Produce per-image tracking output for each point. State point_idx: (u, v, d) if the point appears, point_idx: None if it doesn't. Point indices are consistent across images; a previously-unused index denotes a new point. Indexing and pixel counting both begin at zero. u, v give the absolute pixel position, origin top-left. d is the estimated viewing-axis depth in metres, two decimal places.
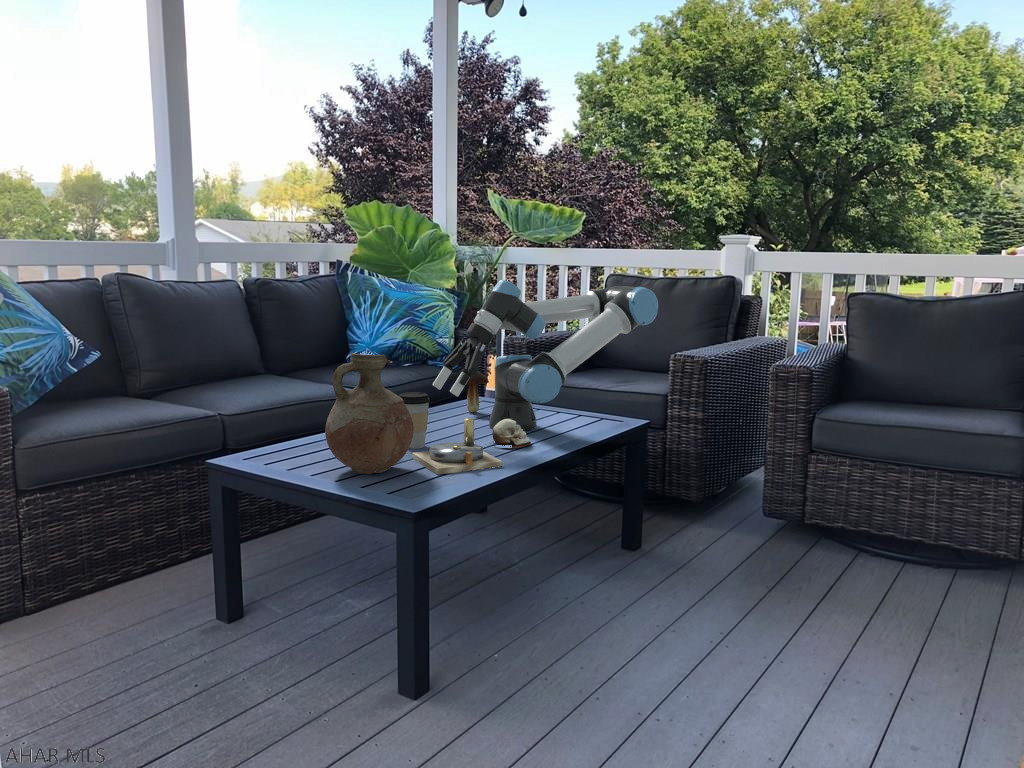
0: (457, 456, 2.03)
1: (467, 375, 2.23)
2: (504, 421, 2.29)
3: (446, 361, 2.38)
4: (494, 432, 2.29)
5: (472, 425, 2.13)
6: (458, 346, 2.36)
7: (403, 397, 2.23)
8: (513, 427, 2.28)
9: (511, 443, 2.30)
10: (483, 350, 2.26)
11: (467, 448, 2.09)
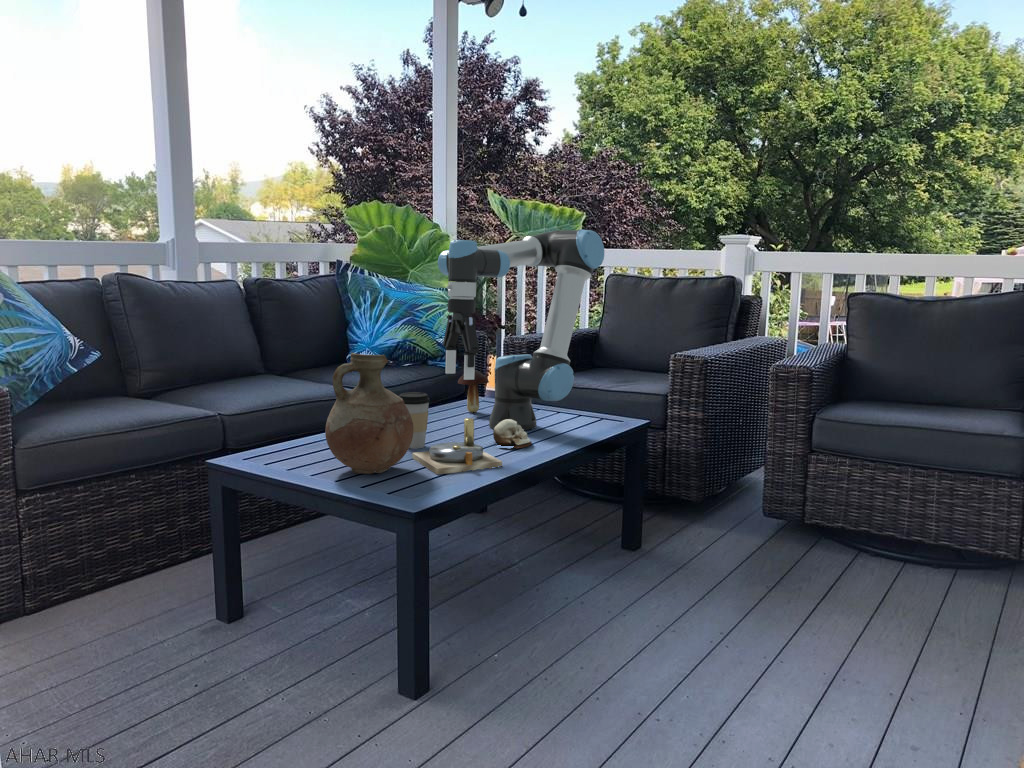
0: (457, 456, 2.03)
1: (471, 356, 2.10)
2: (505, 421, 2.29)
3: (445, 343, 2.25)
4: (495, 432, 2.29)
5: (472, 425, 2.13)
6: (448, 324, 2.22)
7: (403, 397, 2.23)
8: (514, 427, 2.28)
9: (512, 443, 2.29)
10: (473, 323, 2.11)
11: (467, 448, 2.09)
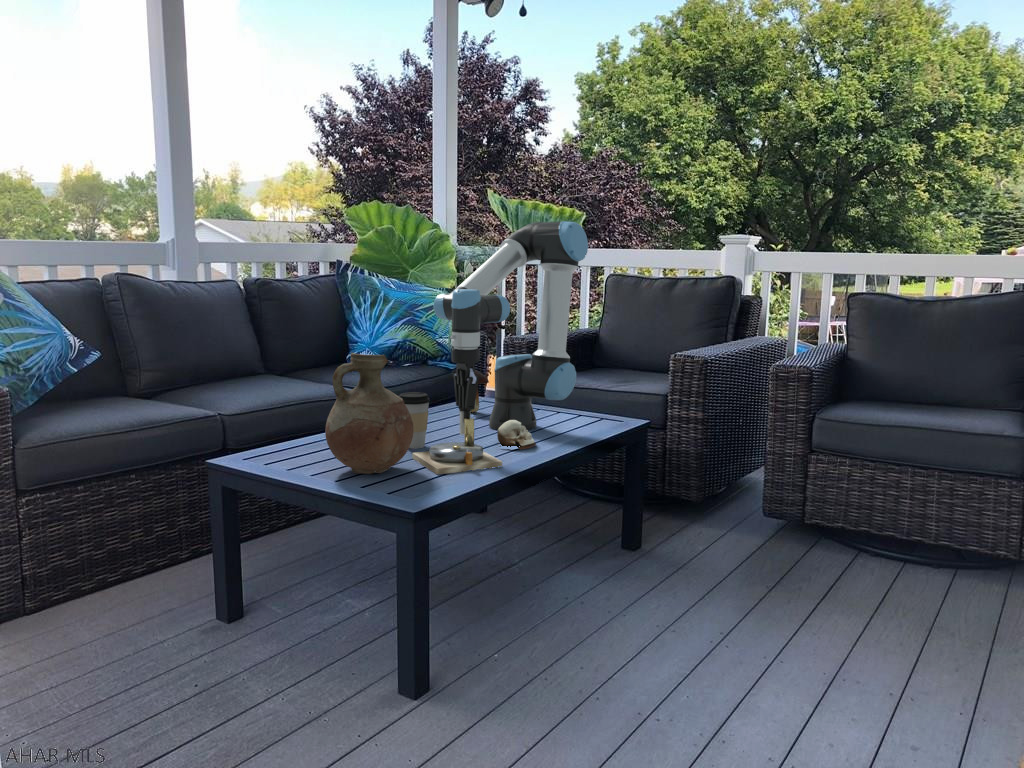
0: (457, 456, 2.03)
1: (467, 412, 2.15)
2: (509, 422, 2.28)
3: (458, 400, 2.18)
4: (499, 433, 2.28)
5: (472, 425, 2.13)
6: (455, 379, 2.18)
7: (403, 397, 2.23)
8: (518, 428, 2.27)
9: (516, 444, 2.28)
10: (475, 382, 2.10)
11: (467, 448, 2.09)
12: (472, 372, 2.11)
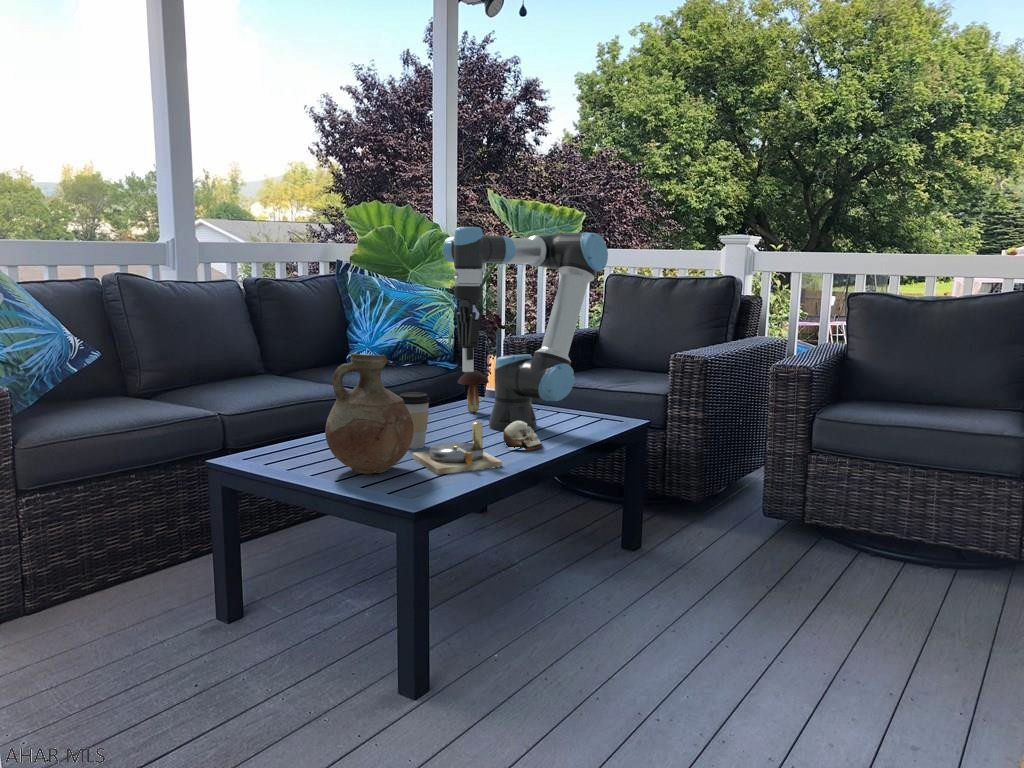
0: (433, 453, 2.06)
1: (470, 349, 2.18)
2: (516, 423, 2.27)
3: None
4: (506, 434, 2.26)
5: (476, 429, 2.08)
6: (458, 317, 2.21)
7: (403, 397, 2.23)
8: (525, 428, 2.26)
9: (523, 445, 2.27)
10: (478, 318, 2.14)
11: (458, 450, 2.07)
12: (475, 308, 2.14)
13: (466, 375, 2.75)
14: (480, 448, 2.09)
